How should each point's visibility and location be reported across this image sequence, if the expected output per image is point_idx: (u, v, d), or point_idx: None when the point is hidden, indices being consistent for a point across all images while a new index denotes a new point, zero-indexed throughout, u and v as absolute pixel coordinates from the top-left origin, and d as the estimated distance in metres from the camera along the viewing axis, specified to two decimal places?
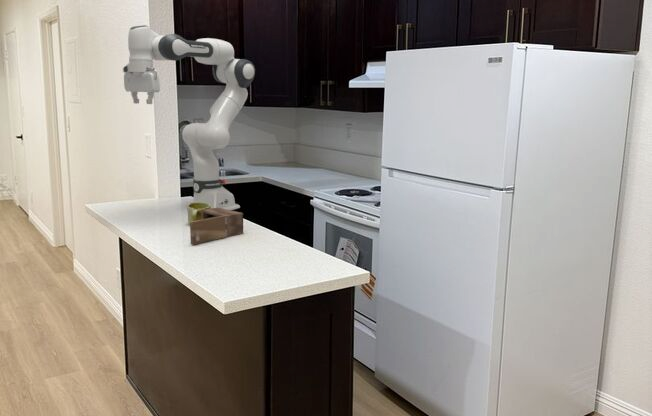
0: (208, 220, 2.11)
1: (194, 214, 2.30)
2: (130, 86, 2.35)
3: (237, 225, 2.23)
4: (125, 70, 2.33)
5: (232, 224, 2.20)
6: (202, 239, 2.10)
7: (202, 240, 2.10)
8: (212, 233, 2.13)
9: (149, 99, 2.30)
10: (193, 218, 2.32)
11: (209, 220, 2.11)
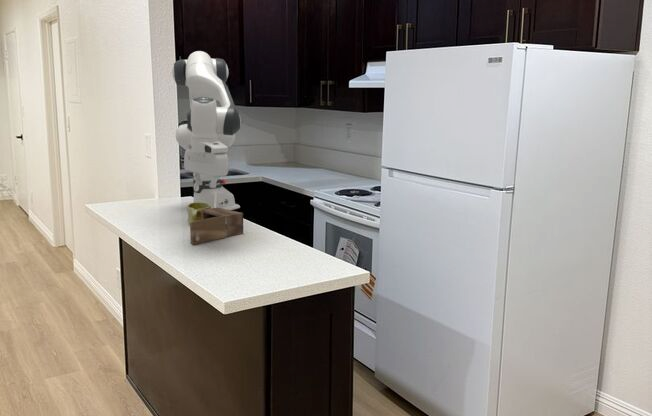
0: (208, 220, 2.11)
1: (194, 214, 2.30)
2: None
3: (237, 225, 2.23)
4: None
5: (232, 224, 2.20)
6: (202, 239, 2.10)
7: (202, 240, 2.10)
8: (212, 233, 2.13)
9: None
10: (193, 218, 2.32)
11: (209, 220, 2.11)
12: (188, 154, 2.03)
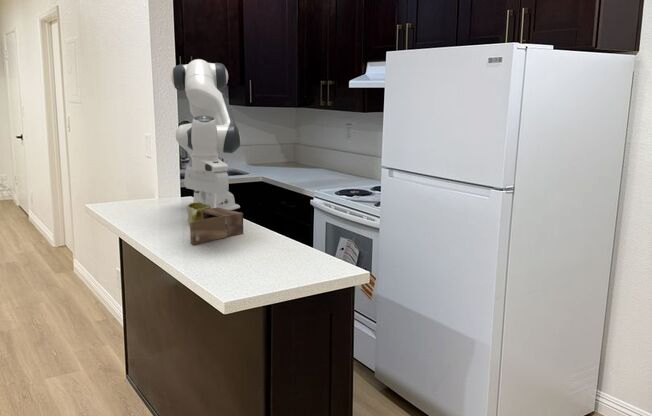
0: (208, 220, 2.11)
1: (194, 214, 2.30)
2: None
3: (237, 225, 2.23)
4: None
5: (232, 224, 2.20)
6: (202, 239, 2.10)
7: (202, 240, 2.10)
8: (212, 233, 2.13)
9: None
10: (193, 218, 2.32)
11: (209, 220, 2.11)
12: (188, 172, 2.05)
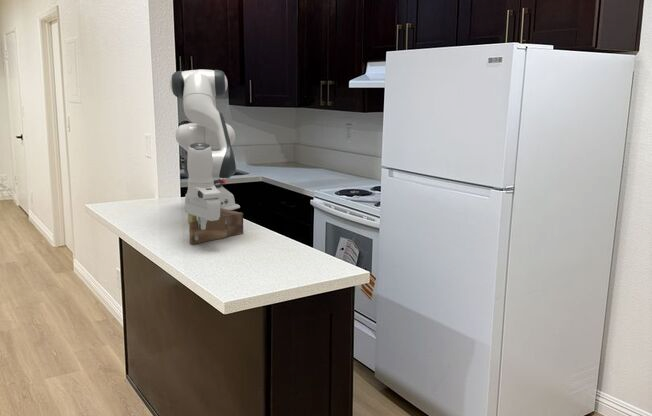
0: (207, 220, 2.11)
1: None
2: None
3: (237, 225, 2.23)
4: None
5: (232, 224, 2.20)
6: (201, 239, 2.10)
7: (201, 240, 2.10)
8: (212, 233, 2.13)
9: None
10: (193, 218, 2.32)
11: (208, 220, 2.11)
12: (187, 197, 2.10)
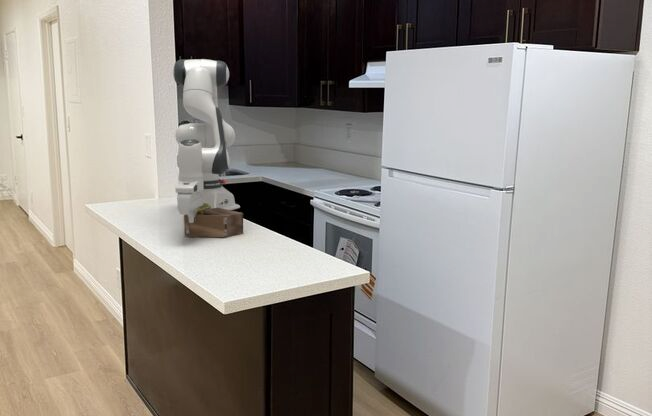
0: (203, 216, 2.17)
1: None
2: (192, 207, 2.09)
3: (237, 225, 2.23)
4: (195, 190, 2.07)
5: (232, 224, 2.20)
6: (195, 233, 2.18)
7: (195, 234, 2.18)
8: (207, 230, 2.18)
9: None
10: None
11: (204, 216, 2.17)
12: None
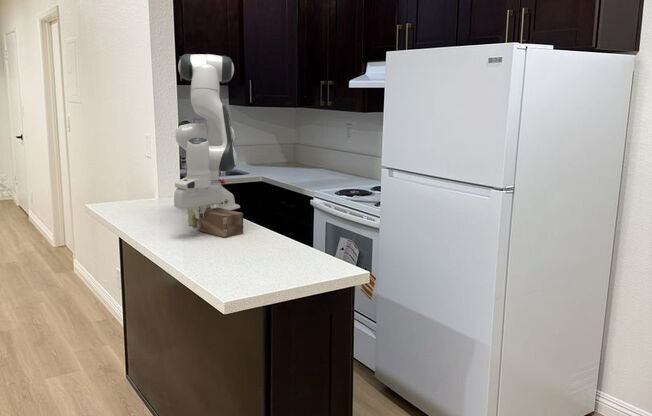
0: (209, 214, 2.22)
1: (194, 214, 2.30)
2: (190, 202, 2.17)
3: (237, 225, 2.23)
4: (190, 186, 2.14)
5: (232, 224, 2.20)
6: (205, 229, 2.25)
7: (205, 230, 2.25)
8: (212, 227, 2.22)
9: None
10: (193, 218, 2.32)
11: (210, 214, 2.21)
12: None
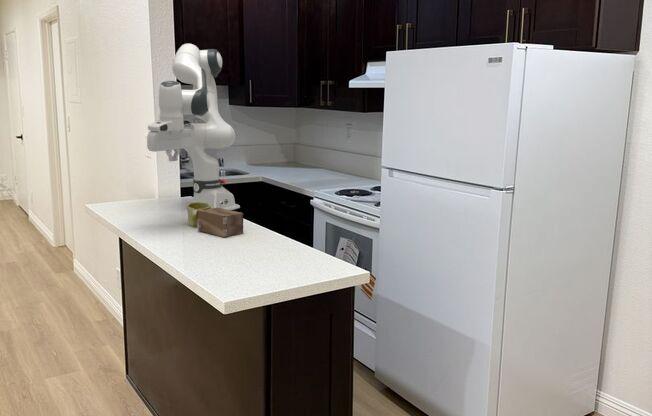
0: (209, 214, 2.22)
1: (194, 214, 2.30)
2: (163, 145, 2.20)
3: (237, 225, 2.23)
4: (163, 129, 2.17)
5: (232, 224, 2.20)
6: (205, 229, 2.25)
7: (205, 230, 2.25)
8: (212, 227, 2.22)
9: None
10: (193, 218, 2.32)
11: (210, 214, 2.21)
12: None
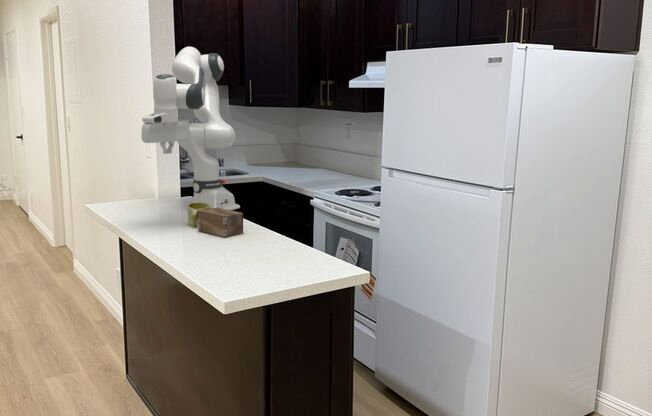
0: (209, 214, 2.22)
1: (194, 214, 2.30)
2: (157, 137, 2.23)
3: (237, 225, 2.23)
4: (157, 120, 2.20)
5: (232, 224, 2.20)
6: (205, 229, 2.25)
7: (205, 230, 2.25)
8: (212, 227, 2.22)
9: None
10: (193, 218, 2.32)
11: (210, 214, 2.21)
12: None
